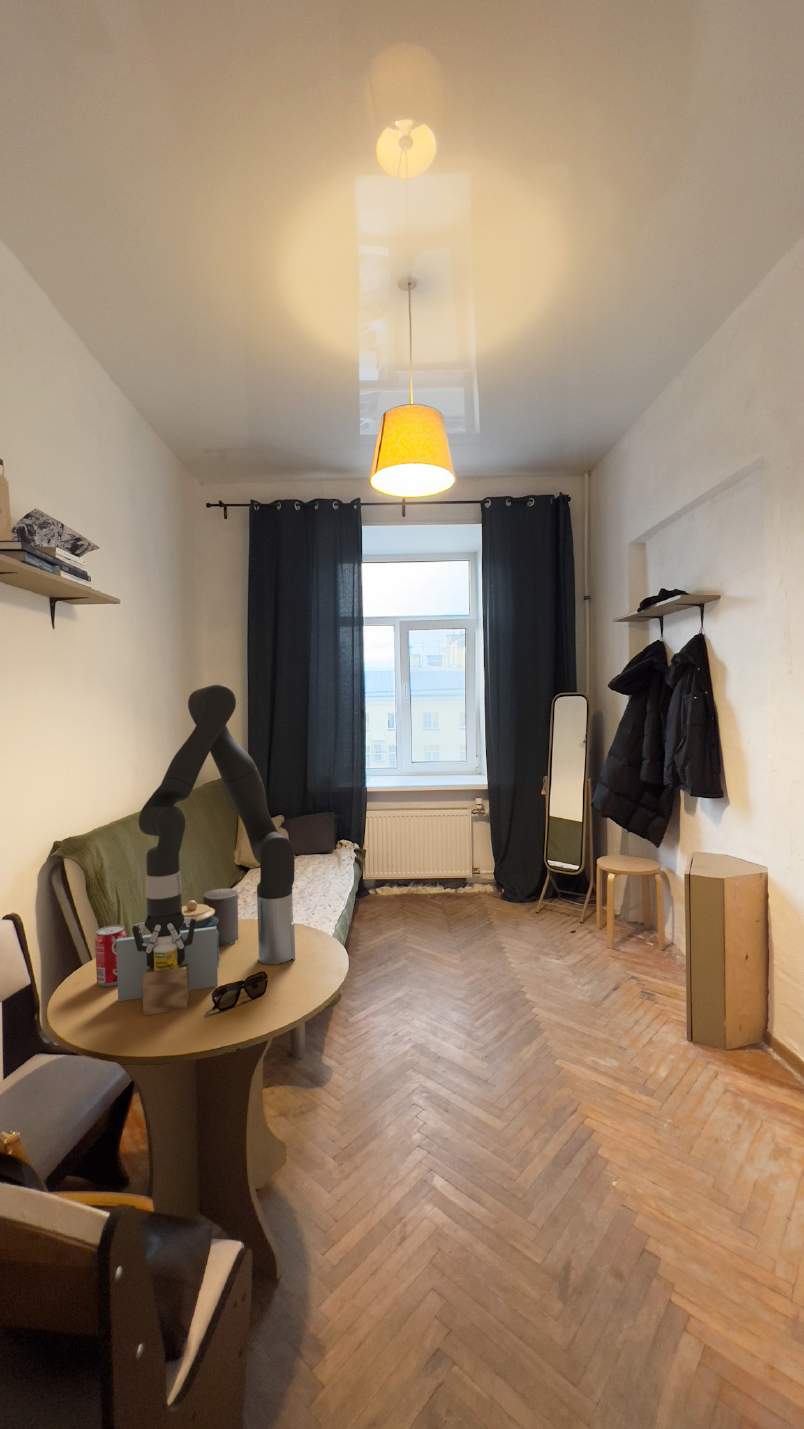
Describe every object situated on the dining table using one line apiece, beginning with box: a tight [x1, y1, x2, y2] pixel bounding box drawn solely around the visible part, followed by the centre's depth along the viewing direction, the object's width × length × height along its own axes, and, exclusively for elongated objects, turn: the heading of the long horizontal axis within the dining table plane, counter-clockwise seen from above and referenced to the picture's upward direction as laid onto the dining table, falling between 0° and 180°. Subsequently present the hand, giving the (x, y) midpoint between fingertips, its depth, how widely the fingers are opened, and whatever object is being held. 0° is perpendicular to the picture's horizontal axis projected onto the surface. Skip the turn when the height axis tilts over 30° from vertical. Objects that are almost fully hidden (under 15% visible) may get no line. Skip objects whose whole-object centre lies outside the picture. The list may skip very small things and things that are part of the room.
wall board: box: [116, 927, 219, 1002], centre depth 143 cm, size 22×2×14 cm, turn 107°
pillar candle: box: [202, 888, 239, 948], centre depth 174 cm, size 10×10×15 cm
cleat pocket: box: [142, 964, 190, 1016], centre depth 138 cm, size 9×9×9 cm
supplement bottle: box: [153, 935, 179, 971], centre depth 139 cm, size 5×5×10 cm
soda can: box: [94, 924, 128, 987], centre depth 150 cm, size 7×7×13 cm
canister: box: [179, 899, 221, 968], centre depth 156 cm, size 13×13×18 cm
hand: (166, 965), depth 139 cm, fingers closed on supplement bottle, 5 cm apart
